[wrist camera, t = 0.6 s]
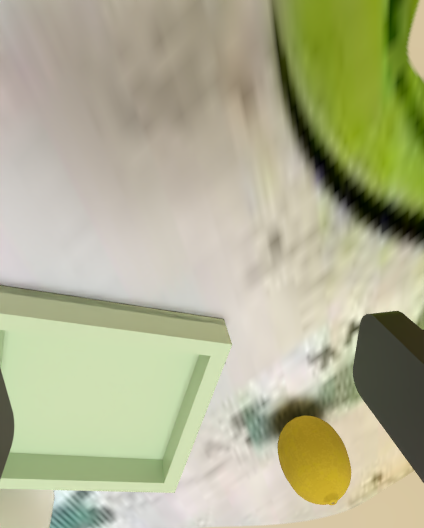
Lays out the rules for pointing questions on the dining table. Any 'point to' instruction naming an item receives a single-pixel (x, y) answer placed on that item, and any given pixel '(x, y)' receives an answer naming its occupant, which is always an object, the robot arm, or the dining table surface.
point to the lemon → (314, 460)
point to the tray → (104, 391)
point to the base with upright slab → (25, 508)
